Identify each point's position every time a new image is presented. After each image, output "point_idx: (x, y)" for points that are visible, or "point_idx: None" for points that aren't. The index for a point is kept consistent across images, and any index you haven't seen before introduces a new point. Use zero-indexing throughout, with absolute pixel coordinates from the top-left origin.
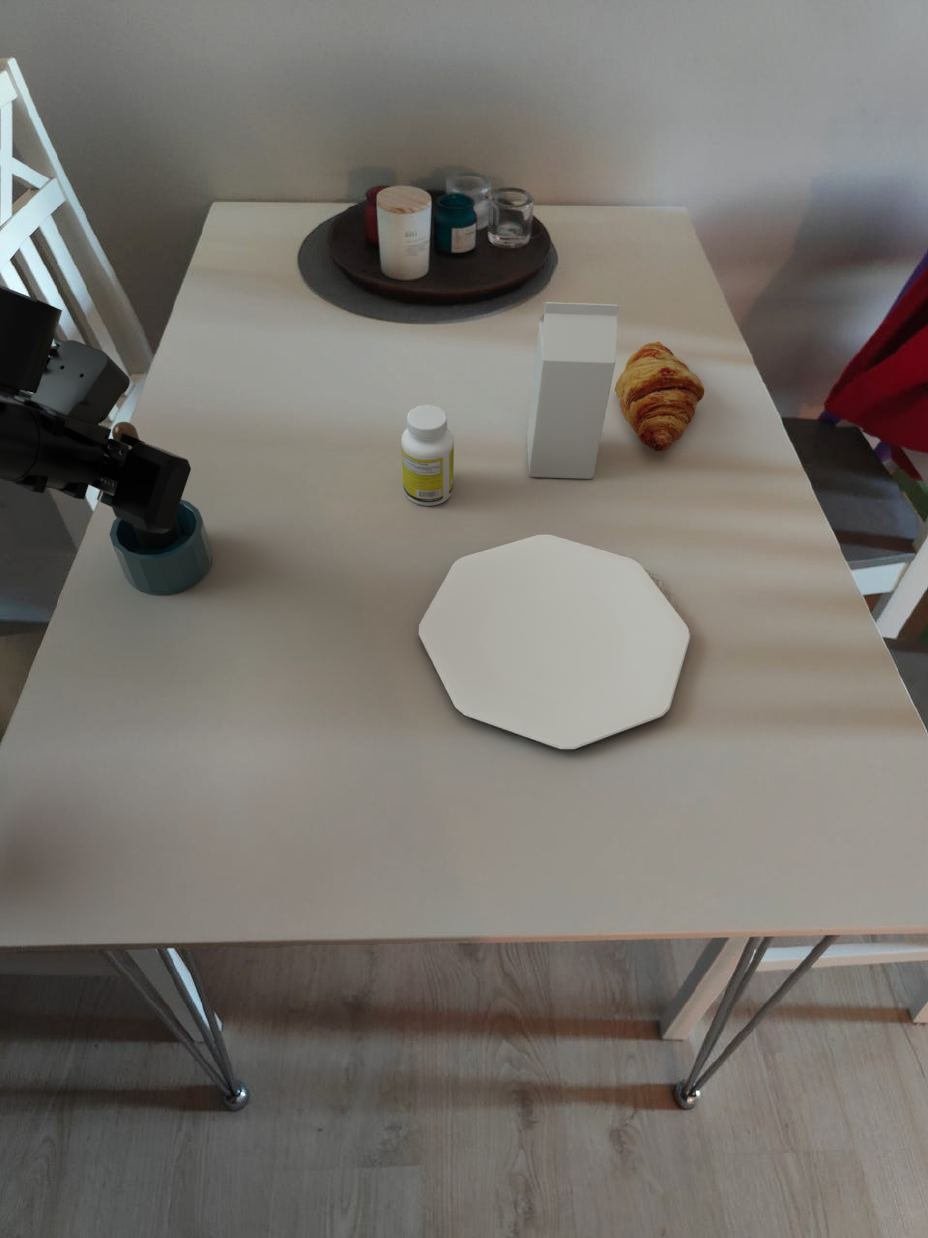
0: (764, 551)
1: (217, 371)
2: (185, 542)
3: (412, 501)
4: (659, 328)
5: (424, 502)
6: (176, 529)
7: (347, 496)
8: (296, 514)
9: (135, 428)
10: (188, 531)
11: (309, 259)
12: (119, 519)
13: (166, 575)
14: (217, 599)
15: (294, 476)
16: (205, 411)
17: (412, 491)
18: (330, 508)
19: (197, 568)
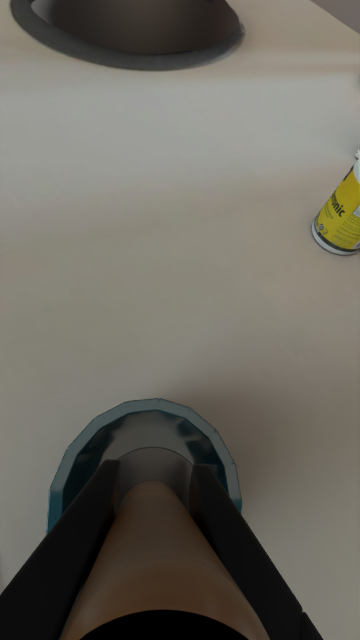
0: None
1: (10, 153)
2: (150, 435)
3: (336, 253)
4: (342, 51)
5: (354, 251)
6: None
7: (273, 270)
8: (243, 316)
9: (245, 609)
10: (149, 418)
11: (28, 21)
12: (56, 521)
13: None
14: (261, 513)
15: (200, 264)
16: (31, 208)
17: (349, 244)
18: (270, 293)
19: None
